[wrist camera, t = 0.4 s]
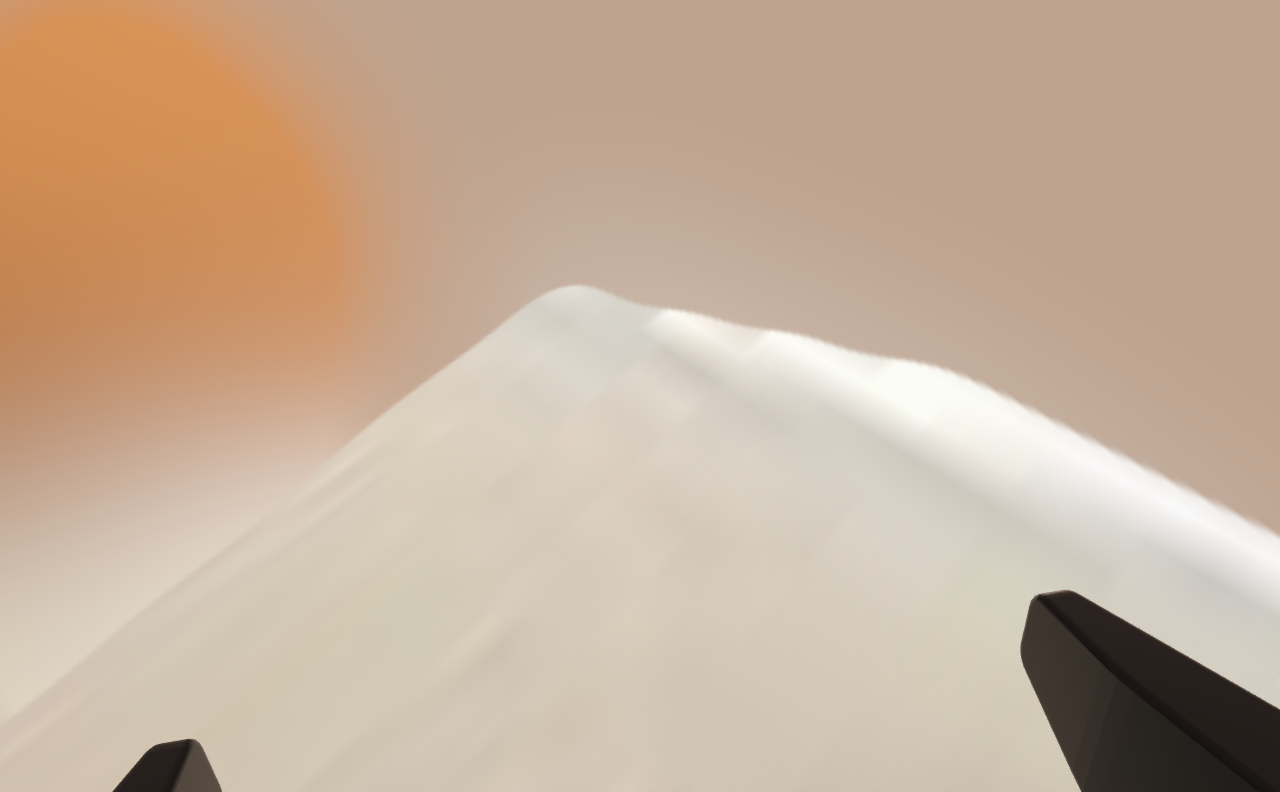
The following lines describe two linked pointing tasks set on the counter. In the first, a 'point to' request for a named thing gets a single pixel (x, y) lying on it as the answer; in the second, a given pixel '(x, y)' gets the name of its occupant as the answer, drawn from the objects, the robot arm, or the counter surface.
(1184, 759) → the robot arm
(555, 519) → the counter surface
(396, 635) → the counter surface
